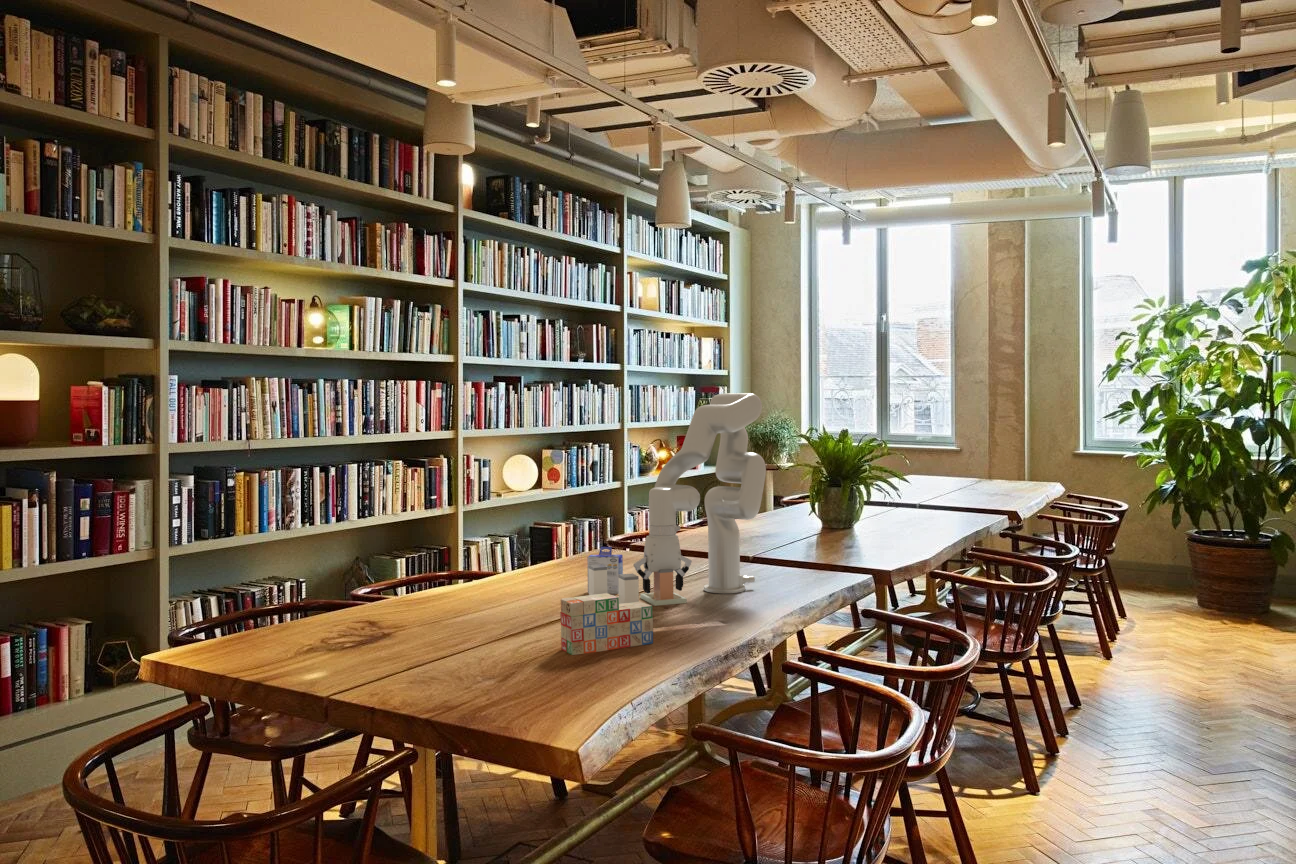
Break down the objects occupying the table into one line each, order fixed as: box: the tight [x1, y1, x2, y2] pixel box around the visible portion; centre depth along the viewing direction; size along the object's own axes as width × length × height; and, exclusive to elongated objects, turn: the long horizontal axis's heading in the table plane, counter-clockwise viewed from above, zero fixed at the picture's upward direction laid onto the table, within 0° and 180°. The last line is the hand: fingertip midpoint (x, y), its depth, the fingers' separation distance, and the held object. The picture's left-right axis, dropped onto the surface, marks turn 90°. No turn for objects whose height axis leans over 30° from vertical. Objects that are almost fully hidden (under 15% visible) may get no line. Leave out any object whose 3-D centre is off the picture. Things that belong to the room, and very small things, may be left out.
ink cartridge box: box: [586, 546, 624, 595], centre depth 301 cm, size 10×6×14 cm, turn 78°
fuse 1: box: [588, 564, 607, 595], centre depth 289 cm, size 4×5×10 cm
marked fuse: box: [653, 569, 675, 600], centre depth 287 cm, size 4×5×10 cm
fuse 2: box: [618, 573, 640, 604], centre depth 274 cm, size 4×5×10 cm
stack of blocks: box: [560, 593, 654, 656], centre depth 239 cm, size 21×6×12 cm, turn 118°
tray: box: [639, 591, 688, 606], centre depth 287 cm, size 10×12×2 cm
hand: (663, 591), depth 287 cm, fingers open, 9 cm apart
